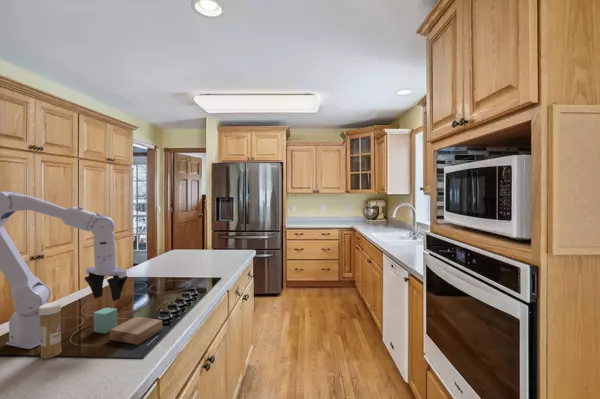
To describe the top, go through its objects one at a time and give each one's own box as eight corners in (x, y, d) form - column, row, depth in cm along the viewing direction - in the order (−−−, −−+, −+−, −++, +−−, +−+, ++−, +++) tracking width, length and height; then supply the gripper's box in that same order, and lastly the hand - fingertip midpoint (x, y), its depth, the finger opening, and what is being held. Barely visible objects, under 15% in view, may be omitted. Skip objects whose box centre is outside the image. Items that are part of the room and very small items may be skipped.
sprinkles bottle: (61, 356, 84) (59, 305, 84) (38, 361, 82) (37, 309, 81) (62, 348, 88) (61, 300, 88) (41, 353, 86) (39, 303, 85)
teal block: (93, 331, 98) (93, 312, 98) (106, 325, 103) (106, 307, 103) (105, 333, 97) (105, 314, 97) (117, 327, 102) (117, 308, 101)
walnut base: (110, 339, 93) (109, 329, 93) (136, 325, 103) (136, 316, 103) (138, 344, 90) (137, 334, 90) (162, 329, 100) (162, 320, 100)
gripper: (133, 253, 100) (135, 296, 101) (99, 251, 105) (101, 291, 106) (114, 259, 93) (116, 304, 94) (78, 256, 98) (80, 299, 99)
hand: (107, 298), depth 99 cm, fingers open, 7 cm apart
